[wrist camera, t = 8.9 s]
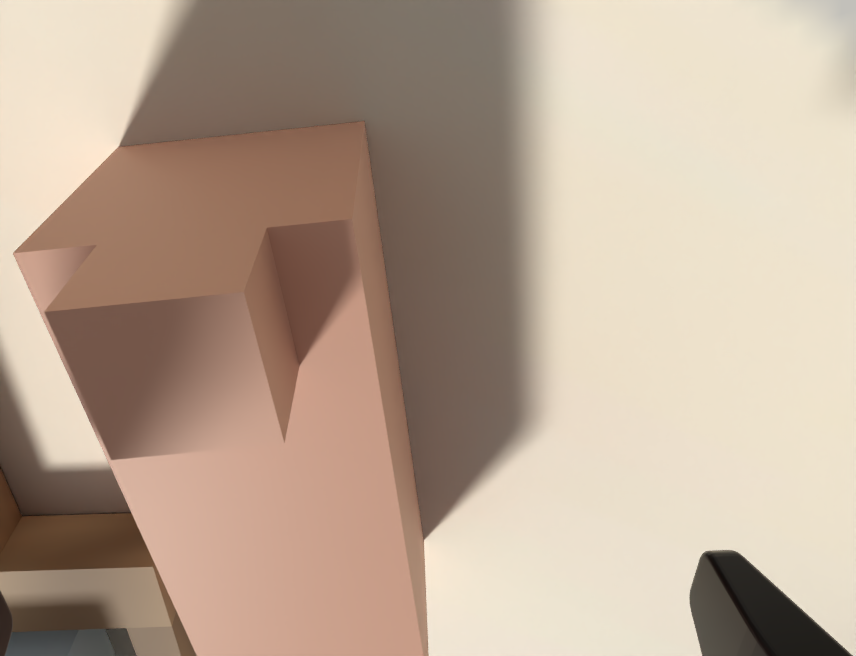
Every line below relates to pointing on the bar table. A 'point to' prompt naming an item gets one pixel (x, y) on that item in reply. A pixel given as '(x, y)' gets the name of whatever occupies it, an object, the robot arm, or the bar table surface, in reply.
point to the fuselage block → (246, 384)
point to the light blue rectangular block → (60, 643)
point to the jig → (85, 578)
